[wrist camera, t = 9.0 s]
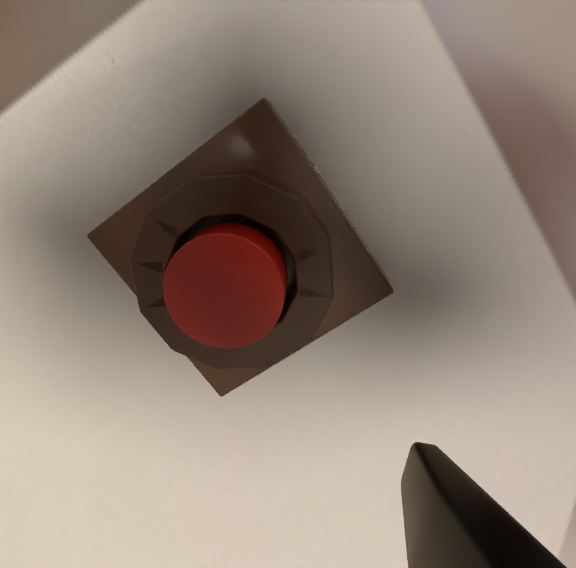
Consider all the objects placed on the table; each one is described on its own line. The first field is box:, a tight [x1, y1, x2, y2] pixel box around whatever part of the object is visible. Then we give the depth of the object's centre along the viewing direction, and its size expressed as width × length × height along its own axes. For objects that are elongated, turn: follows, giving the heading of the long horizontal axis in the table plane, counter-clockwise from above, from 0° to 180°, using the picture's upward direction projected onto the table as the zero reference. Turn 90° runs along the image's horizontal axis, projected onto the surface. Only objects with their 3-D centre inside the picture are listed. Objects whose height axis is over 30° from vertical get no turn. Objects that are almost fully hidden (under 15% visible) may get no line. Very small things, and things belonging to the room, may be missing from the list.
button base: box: [87, 98, 394, 397], centre depth 16 cm, size 8×8×4 cm
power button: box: [163, 222, 288, 348], centre depth 14 cm, size 4×4×2 cm
